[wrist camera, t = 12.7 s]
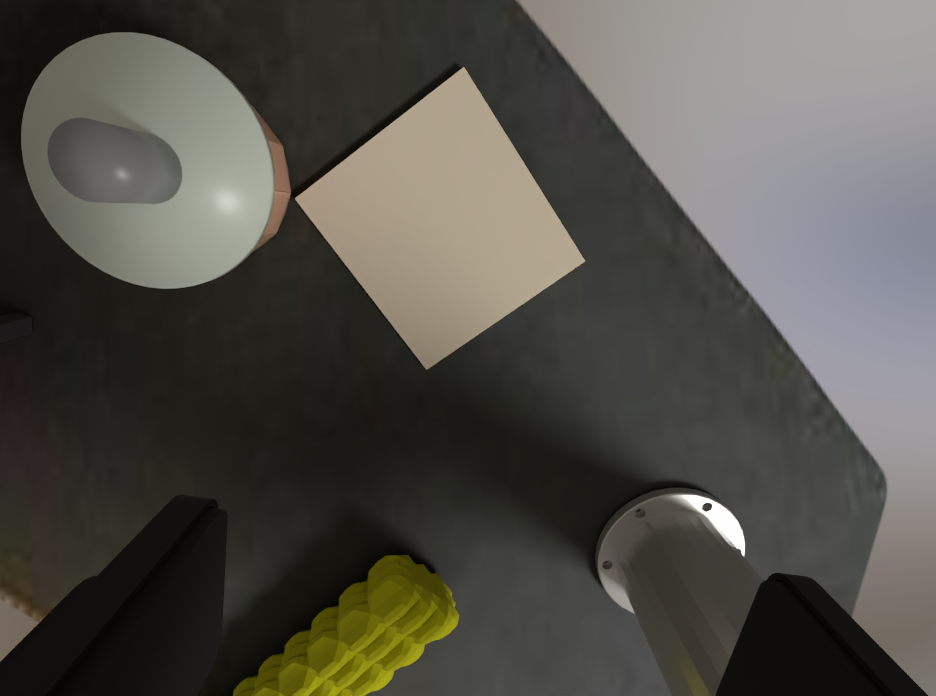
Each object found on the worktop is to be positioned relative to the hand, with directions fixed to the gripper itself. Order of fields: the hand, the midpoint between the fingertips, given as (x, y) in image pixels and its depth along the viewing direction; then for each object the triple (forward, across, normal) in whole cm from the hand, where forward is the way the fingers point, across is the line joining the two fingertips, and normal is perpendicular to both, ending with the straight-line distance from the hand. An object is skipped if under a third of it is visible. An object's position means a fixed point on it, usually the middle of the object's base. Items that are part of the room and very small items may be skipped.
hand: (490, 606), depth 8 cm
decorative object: (+29, +8, +35) cm, 46 cm away
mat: (+28, +2, -5) cm, 29 cm away
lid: (+22, +18, -6) cm, 29 cm away
